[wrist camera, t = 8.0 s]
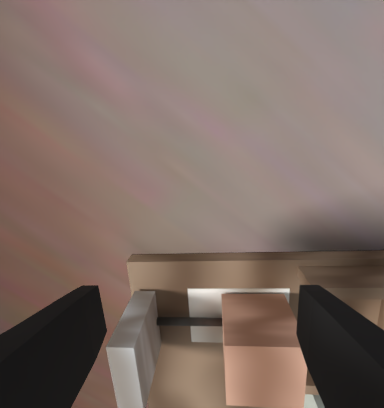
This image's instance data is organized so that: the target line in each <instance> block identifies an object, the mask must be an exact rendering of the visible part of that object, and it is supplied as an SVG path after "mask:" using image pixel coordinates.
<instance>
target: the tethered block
mask: <svg viewBox="0 0 384 408" xmlns="http://www.w3.org/2000/svg"><path fill="white" fill-rule="evenodd" d="M221 297H222V318H210V317H158V311H157V303H156V295H155V291H134V293H133V295H132V297H131V299H130V301H129V303H128V305H127V307H126V309H125V311H124V313H123V315H122V317H121V319H120V321H119V323H118V325H117V326H116V328H115V330H114V332H113V334H112V336H111V338H110V340H109V342H108V344H107V346H106V351H107V356H108V361H109V366H110V370H111V375H112V380H113V385H114V390H115V395H116V400H117V405H118V408H146V404H147V400H148V396H149V392H150V388H151V384H152V380H153V376H154V372H155V368H156V364H157V360H158V356H159V352H160V348H161V336H160V328H159V326H220V327H223V351H224V370H225V389H226V405H231V406H252V407H274V408H304V400H305V388H306V377H307V366H306V363H305V360H304V357H303V354H302V351H301V348H300V344H299V341H298V338H297V335H296V330H297V321H296V318H295V316H294V314H293V312H292V310H291V308H290V306H289V303H288V301H287V299H286V297H285V295H284V294H221Z"/></svg>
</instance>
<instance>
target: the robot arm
mask: <svg viewBox="0 0 384 408" xmlns="http://www.w3.org/2000/svg"><path fill="white" fill-rule="evenodd" d="M106 332H107V329H106V324H105V319H104V313H103V308H102V303H101V298H100V293H99V288H98V286H81V287H79V288H77V289H75V290H73V291H72V292H70V293H68V294H66V295H65V296H63V297H61V298H60V299H58V300H57V301H55V302H53V303H52V304H50V305H49V306H47V307H45V308H44V309H42V310H40V311H39V312H37V313H36V314H34V315H32V316H31V317H29V318H27V319H26V320H24V321H23V322H21V323H19V324H18V325H16V326H14V327H13V328H11V329H9V330H7V331H6V332H4V333H2V334H1V335H0V408H71V406H72V404H73V402H74V401H75V399H76V397H77V395H78V393H79V391H80V389H81V387H82V385H83V384H84V382H85V380H86V378H87V376H88V374H89V372H90V370H91V368H92V366H93V364H94V362H95V360H96V358H97V355H98V353H99V350H100V348H101V345H102V343H103V340H104V337H105V335H106ZM296 335H297V338H298V341H299V344H300V348H301V351H302V354H303V357H304V360H305V363H306V366H307V368H308V370H309V373H310V375H311V377H312V380H313V382H314V384H315V386H316V389H317V391H318V393H319V395H320V398H321V400H322V402H323V404H324V407H325V408H384V330H383V329H381V328H380V327H379V326H377V325H376V324H374V323H373V322H371V321H370V320H368V319H367V318H366V317H364V316H363V315H361V314H360V313H358V312H357V311H356V310H354V309H353V308H351V307H350V306H349V305H347V304H346V303H344V302H343V301H341V300H340V299H339V298H337V297H336V296H334V295H333V294H332V293H330V292H329V291H327V290H326V289H324V288H323V287H321V286H320V285H300V287H299V301H298V316H297V330H296Z"/></svg>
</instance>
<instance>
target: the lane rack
mask: <svg viewBox="0 0 384 408" xmlns="http://www.w3.org/2000/svg"><path fill="white" fill-rule="evenodd" d="M126 263H127V270H128V276H129V283H130V289H131V296H132V295H133V293H134V291H155V295H156V303H157V311H158V317H210V318H222V297H221V294H284V295H285V297H286V299H287V301H288V303H289V306H290V308H291V310H292V312H293V314H294V316H295V318H296V321H297V316H298V301H299V287H300V285H320V286H321V287H323V288H324V289H326V290H327V291H329V292H330V293H332V294H333V295H334V296H336V297H337V298H339V299H340V300H341V301H343V302H344V303H346V304H347V305H349V306H350V307H351V308H353V309H354V310H356V311H357V312H358V313H360V314H361V315H363V316H364V317H366V318H367V319H368V320H370V321H371V322H373V323H374V324H376V325H377V326H379V327H380V328H381V329H383V330H384V250H375V251H316V252H257V253H198V254H139V255H131V256H130V258H129V259H128V261H127V262H126ZM159 328H160V336H161V348H160V352H159V356H158V360H157V364H156V368H155V372H154V376H153V380H152V384H151V388H150V392H149V396H148V407H149V408H274V407H252V406H231V405H226V389H225V370H224V351H223V327H220V326H159ZM305 394H310V395H319V393H318V391H317V389H316V386H315V384H314V382H313V380H312V377H311V375H310V373H309V370H308V368H307V377H306V388H305Z"/></svg>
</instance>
